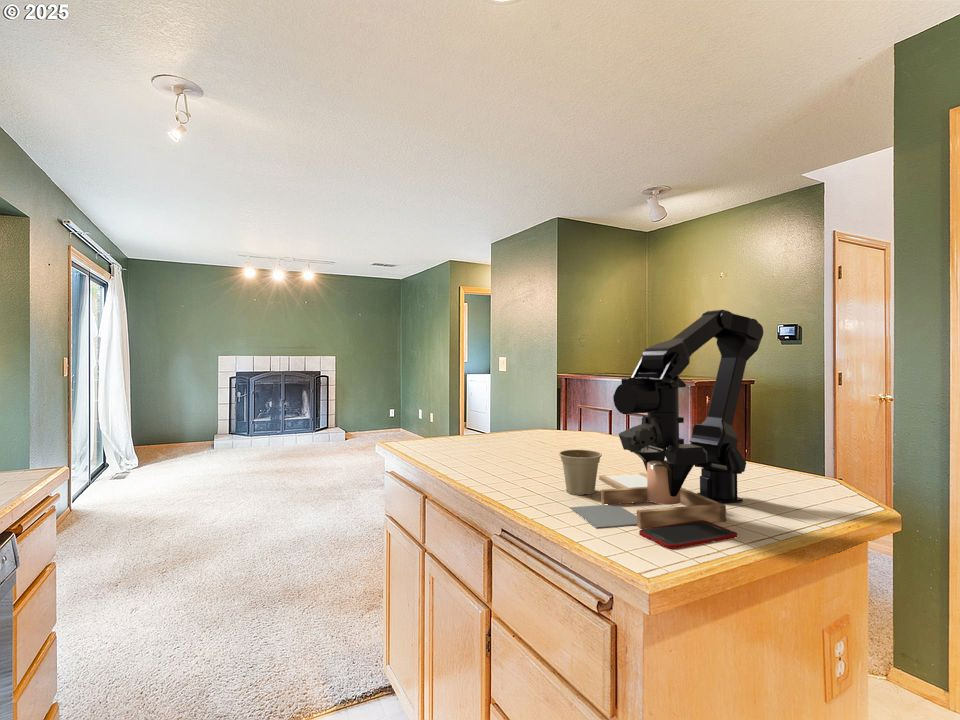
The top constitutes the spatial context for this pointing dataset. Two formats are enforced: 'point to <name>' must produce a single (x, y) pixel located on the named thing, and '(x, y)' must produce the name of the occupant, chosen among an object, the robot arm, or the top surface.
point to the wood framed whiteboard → (625, 480)
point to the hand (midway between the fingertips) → (663, 491)
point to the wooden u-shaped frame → (693, 510)
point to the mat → (606, 515)
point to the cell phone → (687, 534)
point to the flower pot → (580, 470)
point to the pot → (659, 484)
